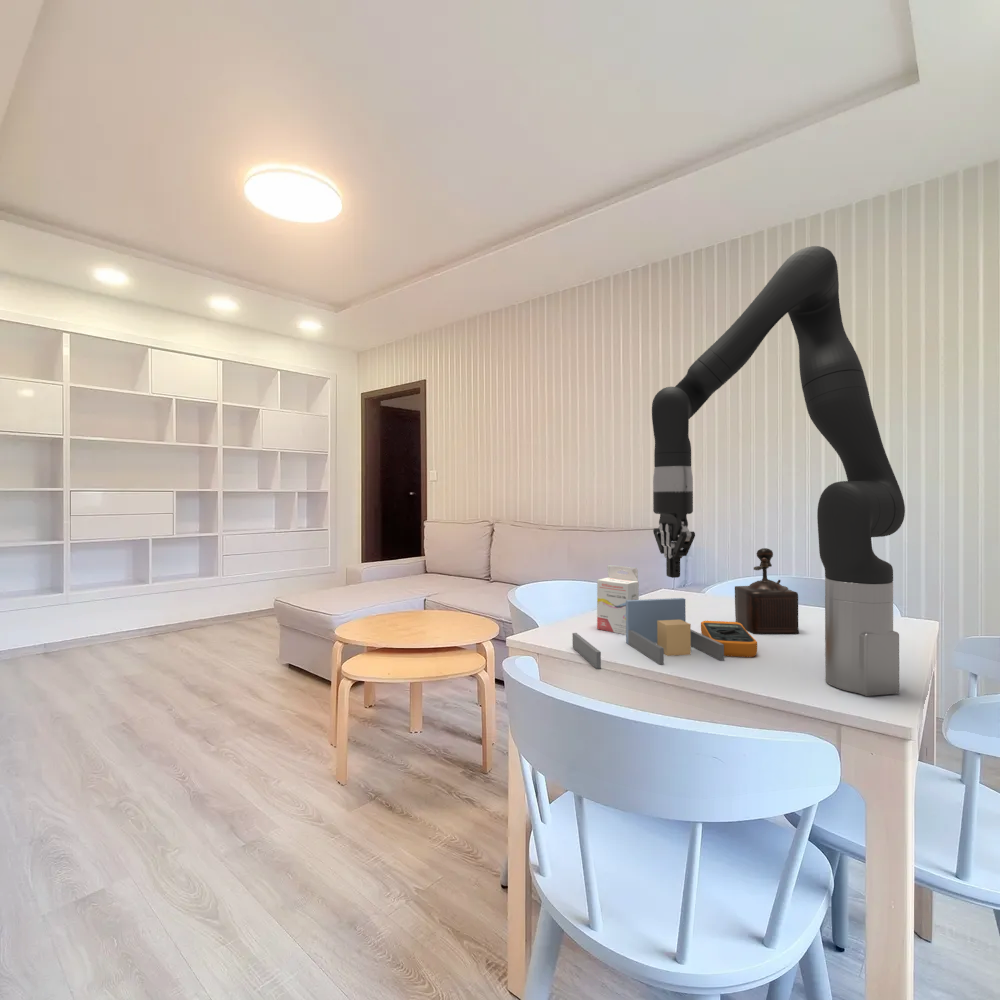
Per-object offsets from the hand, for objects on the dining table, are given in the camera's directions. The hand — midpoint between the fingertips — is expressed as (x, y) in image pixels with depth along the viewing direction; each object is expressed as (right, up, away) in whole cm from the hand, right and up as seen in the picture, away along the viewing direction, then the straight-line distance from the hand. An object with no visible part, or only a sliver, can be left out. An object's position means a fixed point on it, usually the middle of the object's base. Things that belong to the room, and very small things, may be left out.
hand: (673, 576), depth 107 cm
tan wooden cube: (0, -15, 0) cm, 15 cm away
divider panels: (-6, -15, -1) cm, 16 cm away
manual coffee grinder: (+28, -15, +21) cm, 38 cm away
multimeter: (+13, -15, +5) cm, 21 cm away
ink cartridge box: (-7, -15, +18) cm, 24 cm away
